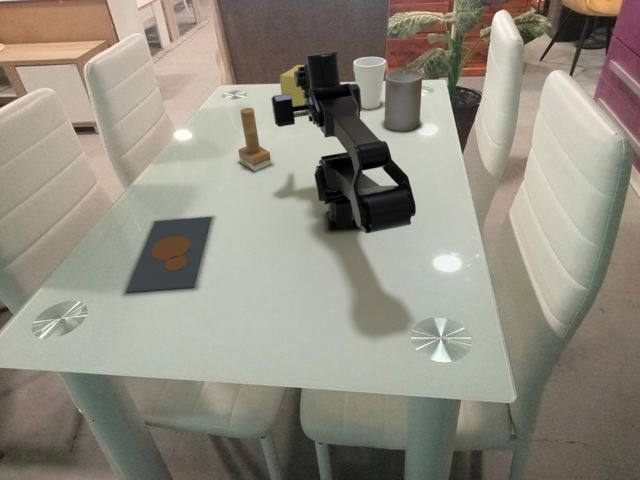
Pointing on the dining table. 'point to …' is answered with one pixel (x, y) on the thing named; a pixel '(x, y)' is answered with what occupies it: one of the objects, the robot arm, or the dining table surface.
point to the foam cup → (370, 80)
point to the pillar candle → (403, 99)
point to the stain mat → (171, 255)
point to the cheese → (292, 86)
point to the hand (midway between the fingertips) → (309, 101)
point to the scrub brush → (252, 143)
